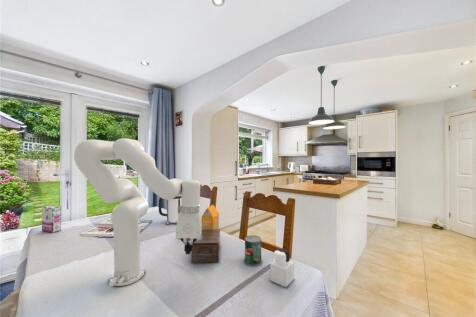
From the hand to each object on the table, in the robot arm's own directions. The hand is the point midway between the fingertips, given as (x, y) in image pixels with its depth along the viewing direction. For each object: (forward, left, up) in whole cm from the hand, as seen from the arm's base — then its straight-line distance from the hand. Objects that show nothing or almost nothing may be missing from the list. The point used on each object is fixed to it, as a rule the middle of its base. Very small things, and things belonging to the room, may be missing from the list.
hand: (188, 252), depth 83 cm
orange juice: (+38, -6, -10) cm, 40 cm away
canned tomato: (+10, -29, -10) cm, 32 cm away
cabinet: (+19, -6, -10) cm, 23 cm away
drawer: (+15, -6, -9) cm, 19 cm away
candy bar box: (+56, +103, -10) cm, 118 cm away
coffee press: (+69, +25, -10) cm, 75 cm away
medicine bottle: (-5, -39, -10) cm, 40 cm away
